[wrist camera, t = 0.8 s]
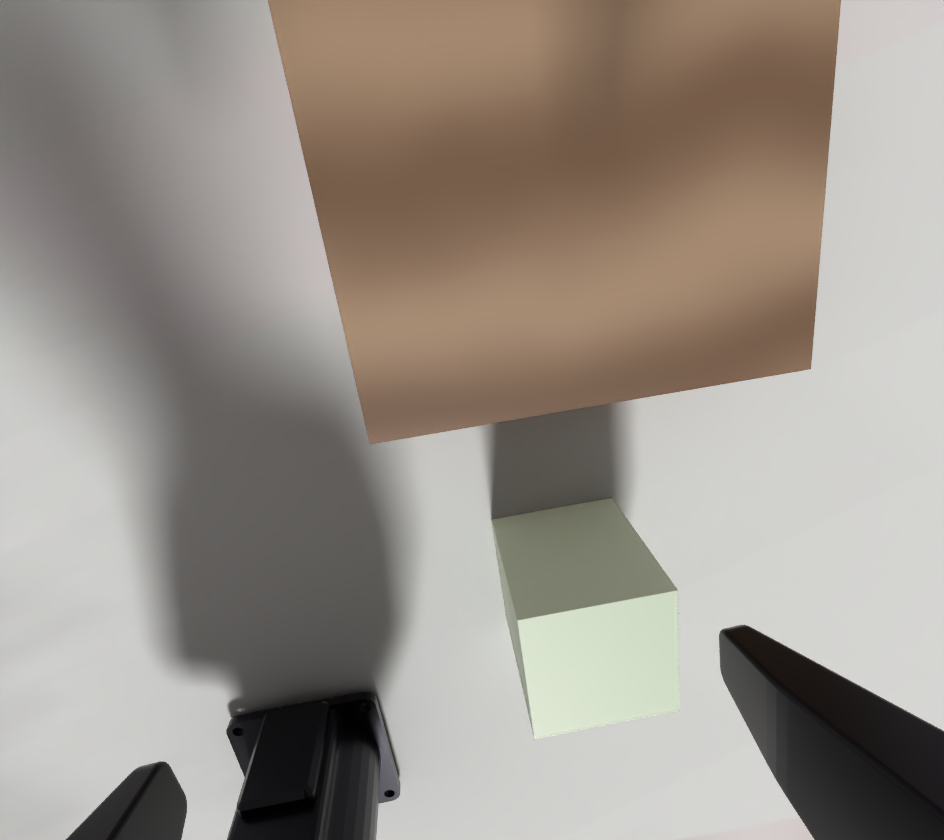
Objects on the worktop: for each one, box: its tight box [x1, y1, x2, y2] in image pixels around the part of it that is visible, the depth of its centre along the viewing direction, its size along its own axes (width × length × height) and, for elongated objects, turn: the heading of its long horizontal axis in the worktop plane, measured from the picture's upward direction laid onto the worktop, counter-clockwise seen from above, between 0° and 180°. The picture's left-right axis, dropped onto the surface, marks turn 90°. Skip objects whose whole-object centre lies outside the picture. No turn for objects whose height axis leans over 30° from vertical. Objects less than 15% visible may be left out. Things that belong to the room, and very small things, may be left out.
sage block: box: [491, 498, 679, 739], centre depth 20 cm, size 5×5×6 cm
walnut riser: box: [268, 0, 841, 444], centre depth 16 cm, size 14×14×4 cm
